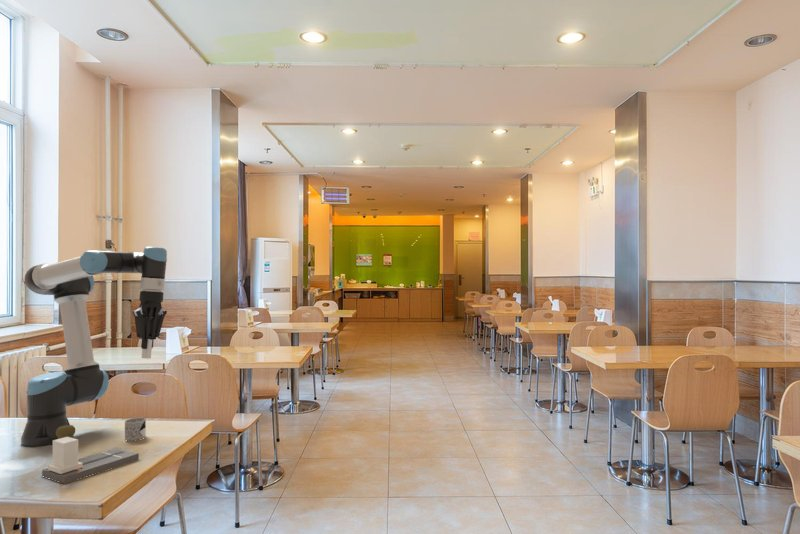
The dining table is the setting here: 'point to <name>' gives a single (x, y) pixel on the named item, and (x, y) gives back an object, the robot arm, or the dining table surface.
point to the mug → (135, 429)
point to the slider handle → (65, 455)
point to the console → (94, 464)
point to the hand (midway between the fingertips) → (146, 357)
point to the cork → (65, 431)
